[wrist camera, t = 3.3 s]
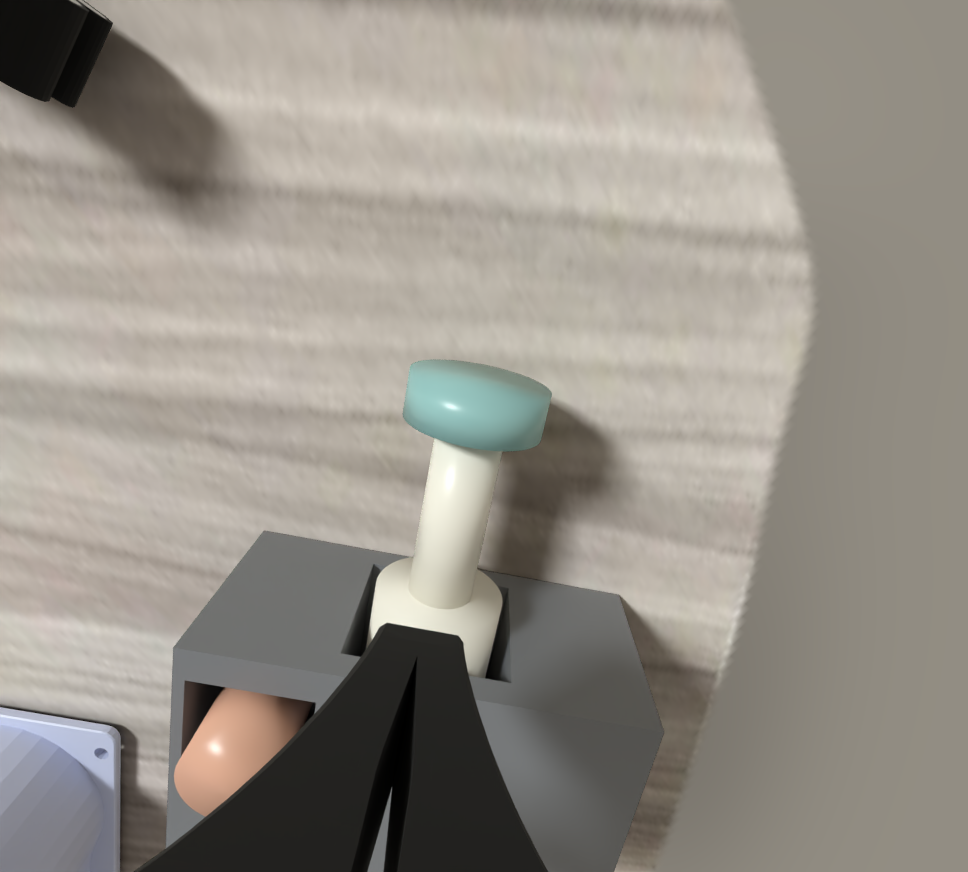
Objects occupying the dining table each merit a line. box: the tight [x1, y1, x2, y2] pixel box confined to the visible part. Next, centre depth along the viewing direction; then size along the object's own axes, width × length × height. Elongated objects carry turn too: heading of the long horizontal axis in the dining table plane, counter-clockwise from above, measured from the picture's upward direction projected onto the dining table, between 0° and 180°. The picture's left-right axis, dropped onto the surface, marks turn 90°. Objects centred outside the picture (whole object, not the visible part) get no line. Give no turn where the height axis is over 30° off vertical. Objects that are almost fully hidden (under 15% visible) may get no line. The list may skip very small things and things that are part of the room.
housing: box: [166, 531, 664, 872], centre depth 19 cm, size 8×12×6 cm, turn 79°
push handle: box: [366, 360, 552, 678], centre depth 18 cm, size 14×4×4 cm, turn 169°
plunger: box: [174, 687, 313, 817], centre depth 16 cm, size 2×2×3 cm
